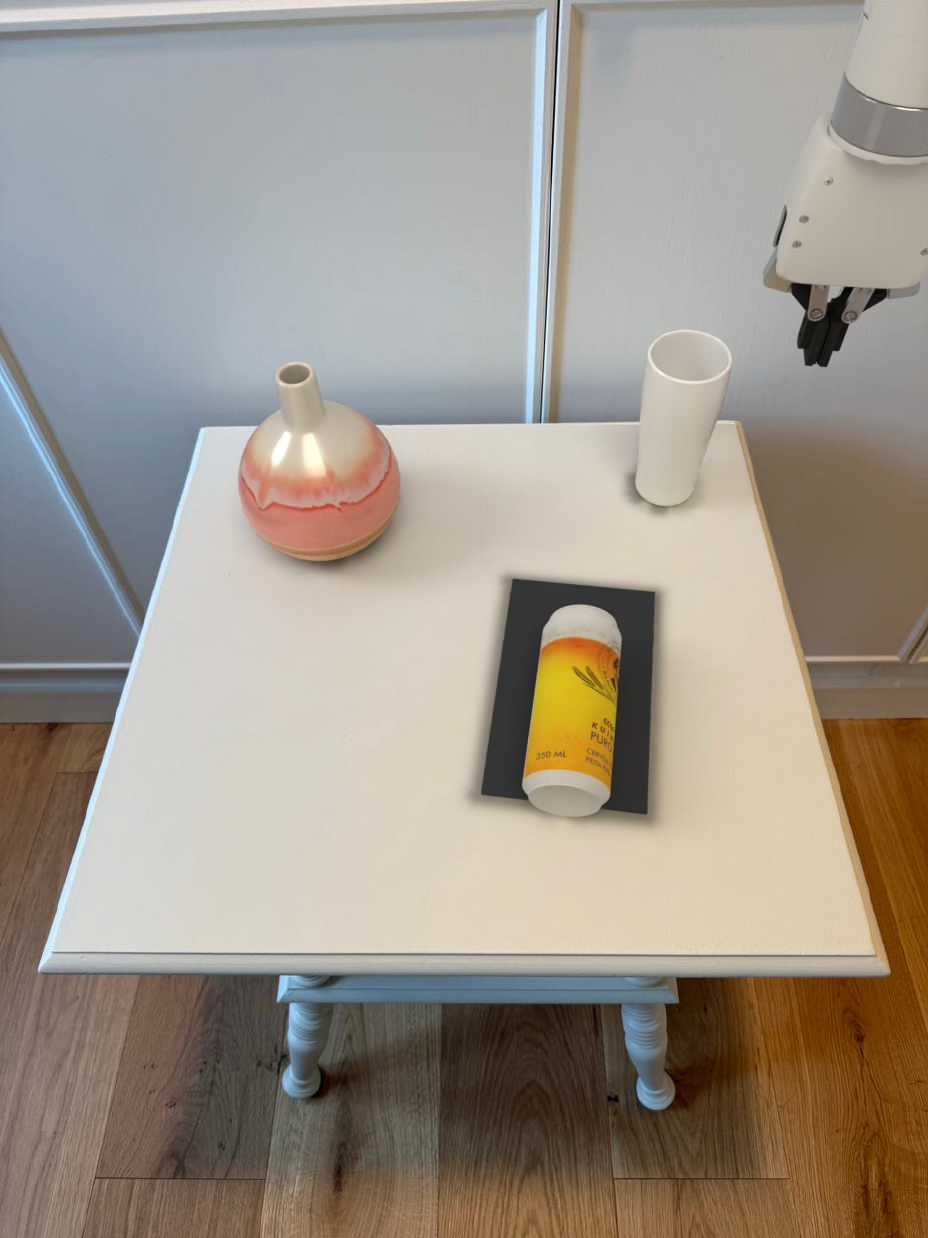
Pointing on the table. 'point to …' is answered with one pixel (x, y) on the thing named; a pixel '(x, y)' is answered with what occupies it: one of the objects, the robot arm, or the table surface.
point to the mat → (519, 677)
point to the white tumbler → (679, 412)
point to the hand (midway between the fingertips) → (814, 354)
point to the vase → (317, 473)
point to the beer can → (574, 713)
